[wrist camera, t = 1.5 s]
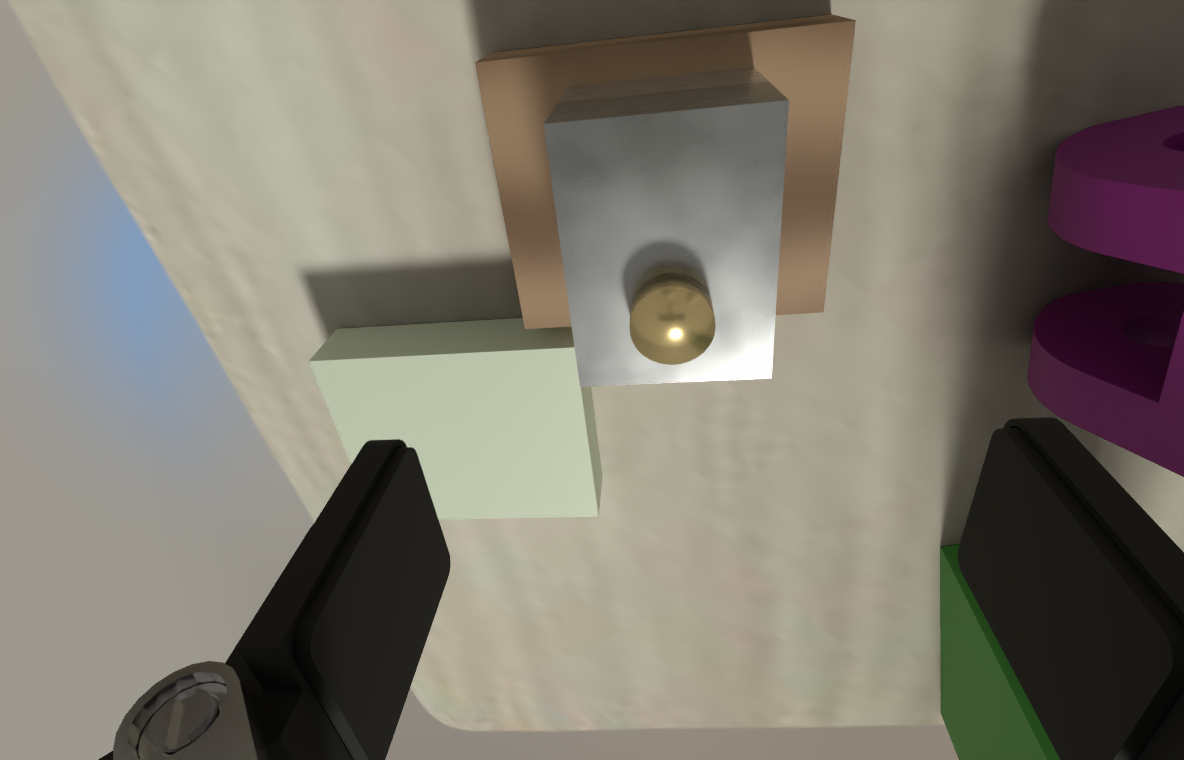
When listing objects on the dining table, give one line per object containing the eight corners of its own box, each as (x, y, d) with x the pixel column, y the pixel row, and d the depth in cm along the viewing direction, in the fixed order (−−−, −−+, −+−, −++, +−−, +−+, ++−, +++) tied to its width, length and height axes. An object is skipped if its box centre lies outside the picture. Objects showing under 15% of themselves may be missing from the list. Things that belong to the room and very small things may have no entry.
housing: (569, 86, 21) (537, 132, 15) (753, 67, 20) (797, 108, 14) (593, 303, 25) (577, 404, 19) (746, 293, 24) (777, 396, 18)
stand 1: (336, 328, 30) (308, 361, 28) (581, 314, 29) (574, 347, 26) (394, 481, 36) (374, 520, 33) (602, 476, 34) (598, 516, 32)
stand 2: (494, 52, 23) (475, 62, 20) (831, 14, 21) (855, 20, 19) (535, 297, 28) (524, 329, 26) (807, 280, 27) (823, 312, 24)
